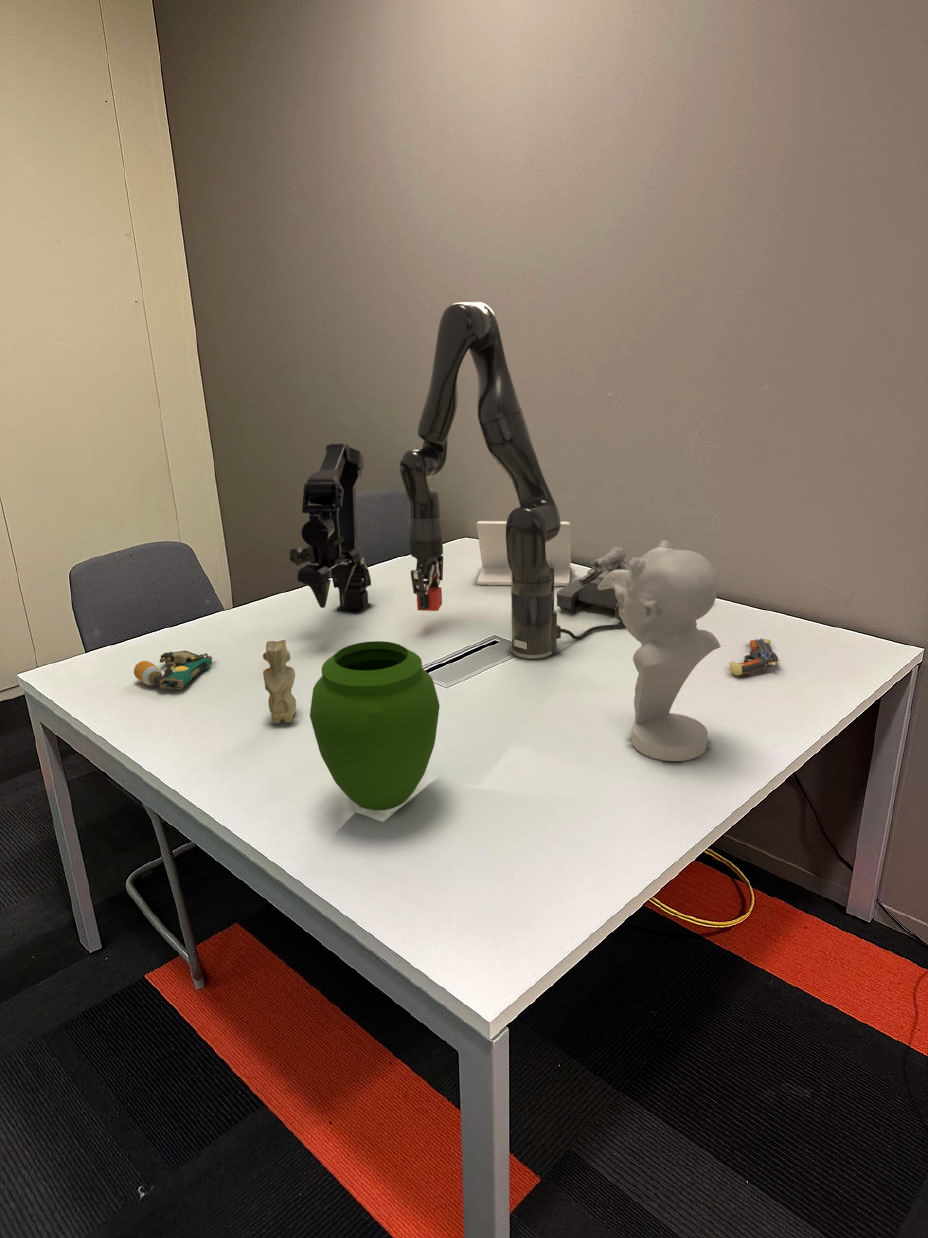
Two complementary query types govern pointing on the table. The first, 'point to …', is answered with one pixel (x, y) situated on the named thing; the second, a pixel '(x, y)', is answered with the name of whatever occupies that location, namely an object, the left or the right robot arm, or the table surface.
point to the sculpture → (279, 681)
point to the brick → (432, 599)
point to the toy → (594, 585)
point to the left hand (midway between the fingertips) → (332, 600)
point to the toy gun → (756, 658)
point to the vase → (375, 722)
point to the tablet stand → (496, 554)
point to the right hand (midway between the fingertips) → (429, 604)
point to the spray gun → (172, 669)
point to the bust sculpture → (666, 643)
